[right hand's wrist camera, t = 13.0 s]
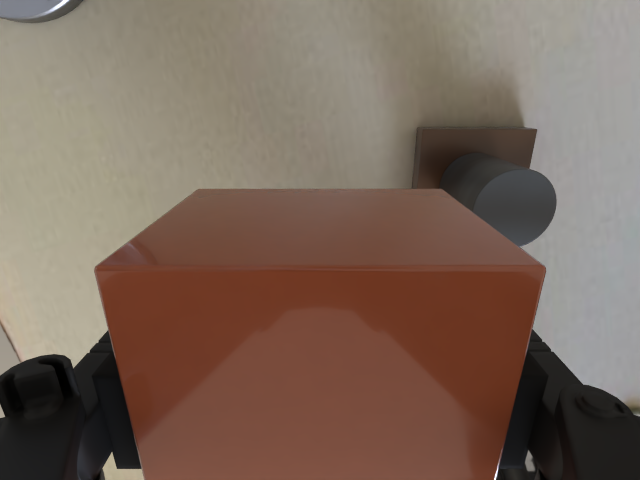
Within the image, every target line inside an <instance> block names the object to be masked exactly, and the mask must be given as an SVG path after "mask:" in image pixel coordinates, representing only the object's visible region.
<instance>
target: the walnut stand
mask: <svg viewBox="0 0 640 480" xmlns="http://www.w3.org/2000/svg"><path fill="white" fill-rule="evenodd" d="M536 133H537V129H532V128H526V127H418V128H417V137H416V148H415V160H414V171H413V182H412V189H443V190H444V191H446V192H447V193H448V194H450V195H451V196H452V197H454V198H455V199H456V200H458V201H459V202H460V203H462V204H463V205H464V206H466V207H467V208H468V209H470V210H471V211H472V212H474V213H475V214H476V215H478V216H479V217H480V218H482V219H483V220H484V221H486V222H487V223H488V224H489V225H491V226H492V227H493V228H495V229H496V230H497V231H499V232H500V233H501V234H503V235H504V236H505V237H507V238H508V239H509V240H511V241H512V242H513V243H515V244H516V245H517V246H519V247H521V246H523V245H526V244H528V243H530V242H532V241H533V240H535V239H536V238H538V237H539V236H540V235H541V234H542V233H543V232H544V231H545V230H546V228H547V227H548V226H549V224H550V222H551V221H552V219H553V216H554V213H555V210H556V194H555V190H554V188H553V186H552V184H551V183H550V181H549V180H548V179H547V178H546V177H545V176H544V175H542V174H541V173H539V172H537V171H534V170H531V169H529V167H530V162H531V158H532V153H533V148H534V143H535V138H536Z"/></svg>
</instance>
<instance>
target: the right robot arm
mask: <svg viewBox="0 0 640 480" xmlns="http://www.w3.org/2000/svg"><path fill="white" fill-rule="evenodd" d="M82 1H83V0H0V18H3V19H7V20H11V21H17V22H24V23H39V22H45V21H50V20H53V19H57V18H59V17H61V16H63V15H65V14H67V13H69V12H70V11H72V10H73V9H74V8H76V7H77V6H78V5H79V4H80V3H81V2H82ZM0 404H1V407H2V409H3V412H4V415H5V417H3V418H0V480H105V477H104V472H103V469H102V468H103V466H104V464H105V463H106V461H107V459H108V457H109V456H110V454H111V452H113V456H114V460H115V463H116V467H117V469H142V468H141V464H140V460H139V455H138V451H137V447H136V443H135V439H134V435H133V430H132V426H131V422H130V418H129V414H128V410H127V405H126V401H125V397H124V393H123V389H122V385H121V380H120V376H119V372H118V368H117V364H116V360H115V356H114V351H113V347H112V343H111V339H110V335H109V331H107V332H106V333H105V334H104V335H103V337H102V338H101V339H100V340H99V342H98V343H96V344H95V345H94V346H93V348H92V349H91V350H90V353H87V354H86V355H85V356H84V357H83V359H82V360H81V361H80V362H79V363H78V364H77V365H76V366H75V367H74V369H73V367H72V363H71V360H70V359H69V358H67V357H66V356H64V355H56V354H52V355H44V356H39V357H36V358H32V359H29V360H26V361H24V362H22V363H20V364H18V365H16V366H13V367H12V368H10V369H9V370H7V371H6V372H5V373H3V374H2V375H0ZM528 450H529V452H530V453H531V455H532V457H533V459H534V460H535V462H536V464H537V465H538V469H537V472H536V476H535V479H534V480H640V417H639V416H636V415H633V413H632V412H631V410H630V409H629V408H628V406H626V405H625V404H624V403H623V402H621V401H620V400H619V399H618V398H616V397H615V396H613V395H611V394H609V393H607V392H605V391H604V390H601V389H598V388H595V387H592V386H589V385H583V384H582V383H581V382H580V381H579V380H578V378H577V377H576V376H575V375H574V374H573V373H572V372H571V371H570V370H569V369H568V368H567V366H566V365H565V364H564V363H563V362H562V361H561V360H560V359H559V358H558V357H557V355H556V354H555V353H554V352H551V349H550V348H549V347H548V346H547V345H546V343H545V342H542V339H541V338H540V337H539V336H538V335H537V334H536V332H535V331H534V330H533V329H532V332H531V336H530V340H529V344H528V348H527V353H526V357H525V361H524V365H523V369H522V373H521V378H520V382H519V386H518V390H517V394H516V398H515V403H514V407H513V411H512V415H511V419H510V423H509V428H508V432H507V436H506V440H505V444H504V448H503V453H502V457H501V461H500V465H499V469H523V468H524V464H525V460H526V457H527V453H528Z"/></svg>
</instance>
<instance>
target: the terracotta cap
mask: <svg viewBox="0 0 640 480" xmlns="http://www.w3.org/2000/svg"><path fill="white" fill-rule="evenodd" d="M94 272H95V276H96V281H97V285H98V289H99V293H100V297H101V301H102V306H103V310H104V314H105V318H106V322H107V326H108V331H109V335H110V339H111V343H112V347H113V351H114V356H115V360H116V364H117V368H118V372H119V376H120V380H121V385H122V389H123V393H124V397H125V401H126V405H127V410H128V414H129V418H130V422H131V426H132V430H133V435H134V439H135V443H136V447H137V451H138V455H139V460H140V464H141V468H142V472H143V476H144V480H496V478H497V473H498V469H499V465H500V461H501V457H502V453H503V448H504V444H505V440H506V436H507V432H508V428H509V423H510V419H511V415H512V411H513V407H514V403H515V398H516V394H517V390H518V386H519V382H520V378H521V373H522V369H523V365H524V361H525V357H526V353H527V348H528V344H529V340H530V336H531V332H532V328H533V323H534V319H535V315H536V311H537V307H538V303H539V298H540V294H541V290H542V286H543V282H544V277H545V273H546V268H545V266H544V265H543V264H541V263H540V262H539V261H537V260H536V259H535V258H533V257H532V256H531V255H529V254H528V253H527V252H525V251H524V250H523V249H521V248H520V247H519V246H517V245H516V244H515V243H513V242H512V241H511V240H509V239H508V238H507V237H505V236H504V235H503V234H501V233H500V232H499V231H497V230H496V229H495V228H493V227H492V226H491V225H489V224H488V223H487V222H486V221H484V220H483V219H482V218H480V217H479V216H478V215H476V214H475V213H474V212H472V211H471V210H470V209H468V208H467V207H466V206H464V205H463V204H462V203H460V202H459V201H458V200H456V199H455V198H454V197H452V196H451V195H450V194H448V193H447V192H446V191H444V190H443V189H198V190H196V191H195V192H193V193H192V194H191V195H189V196H188V197H187V198H185V199H184V200H183V201H181V202H180V203H179V204H177V205H176V206H175V207H173V208H172V209H171V210H169V211H168V212H167V213H165V214H164V215H163V216H161V217H160V218H159V219H157V220H156V221H155V222H153V223H152V224H151V225H150V226H148V227H147V228H146V229H144V230H143V231H142V232H140V233H139V234H138V235H136V236H135V237H134V238H132V239H131V240H130V241H128V242H127V243H126V244H124V245H123V246H122V247H120V248H119V249H118V250H116V251H115V252H114V253H112V254H111V255H110V256H108V257H107V258H106V259H104V260H103V261H102V262H100V263H99V264H98V265H96V266H95V270H94Z"/></svg>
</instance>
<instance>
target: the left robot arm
mask: <svg viewBox="0 0 640 480" xmlns="http://www.w3.org/2000/svg"><path fill="white" fill-rule="evenodd" d="M537 469H538V465H537V464H536V462H535V460H534V459H533V457H532V455H531V453H530V452H529V450H528V453H527V457H526V460H525V464H524V468H523V469H498V473H497V478H496V480H534V479H535V476H536V472H537Z"/></svg>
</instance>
